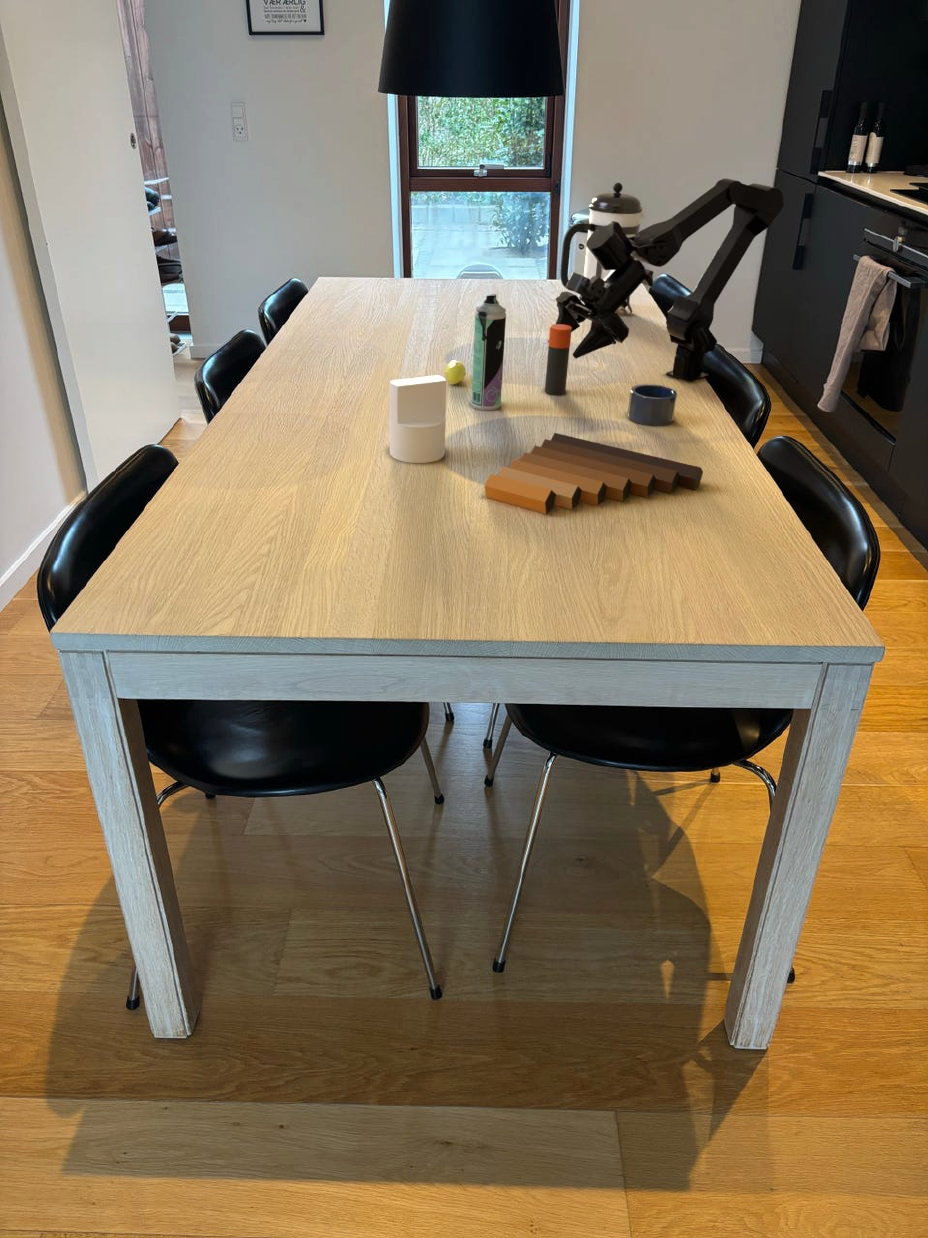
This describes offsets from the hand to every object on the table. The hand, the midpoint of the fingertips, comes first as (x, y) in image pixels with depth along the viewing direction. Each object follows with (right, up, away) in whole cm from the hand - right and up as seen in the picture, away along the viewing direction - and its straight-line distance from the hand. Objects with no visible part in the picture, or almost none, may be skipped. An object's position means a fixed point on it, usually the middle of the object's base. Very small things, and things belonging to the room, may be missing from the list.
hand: (561, 350), depth 184 cm
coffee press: (+16, +27, +61) cm, 69 cm away
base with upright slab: (-26, -24, -26) cm, 44 cm away
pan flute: (+1, -32, -37) cm, 49 cm away
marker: (-1, -7, +4) cm, 8 cm away
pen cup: (+16, -14, -7) cm, 22 cm away
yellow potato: (-20, -4, +7) cm, 22 cm away
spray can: (-15, -12, -5) cm, 19 cm away
